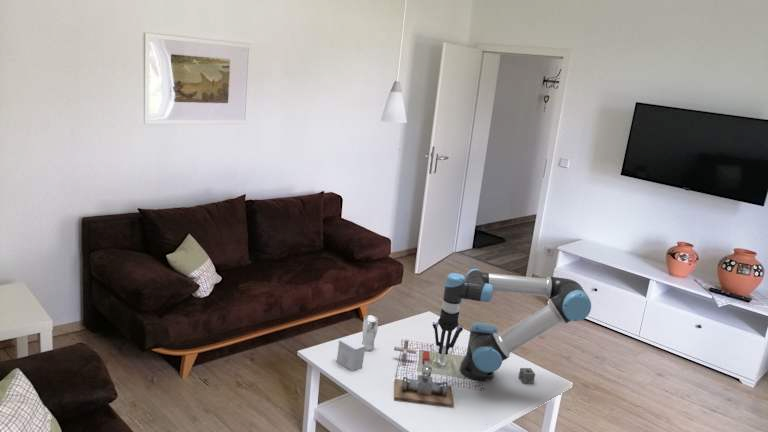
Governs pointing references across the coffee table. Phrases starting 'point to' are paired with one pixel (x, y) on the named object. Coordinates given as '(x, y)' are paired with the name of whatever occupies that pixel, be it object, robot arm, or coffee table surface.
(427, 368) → the valve handle
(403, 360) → the pipe connector
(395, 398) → the walnut board
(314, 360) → the coffee table surface
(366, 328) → the beer glass
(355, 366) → the skincare box
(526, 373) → the dice cube
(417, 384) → the valve body
